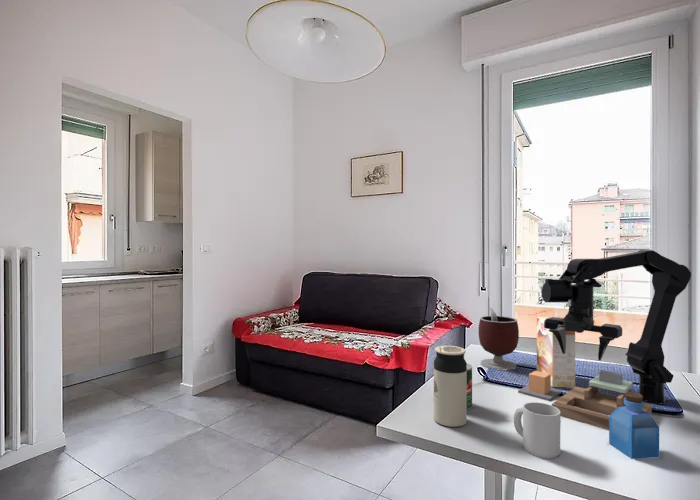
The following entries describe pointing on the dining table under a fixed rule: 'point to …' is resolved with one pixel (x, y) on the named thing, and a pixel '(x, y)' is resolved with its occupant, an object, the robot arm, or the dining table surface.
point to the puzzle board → (591, 406)
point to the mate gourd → (498, 339)
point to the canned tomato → (469, 386)
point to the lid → (611, 382)
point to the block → (540, 382)
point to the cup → (539, 429)
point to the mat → (548, 396)
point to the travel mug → (450, 386)
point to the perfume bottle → (634, 429)
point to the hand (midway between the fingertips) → (581, 356)
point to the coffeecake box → (555, 356)
